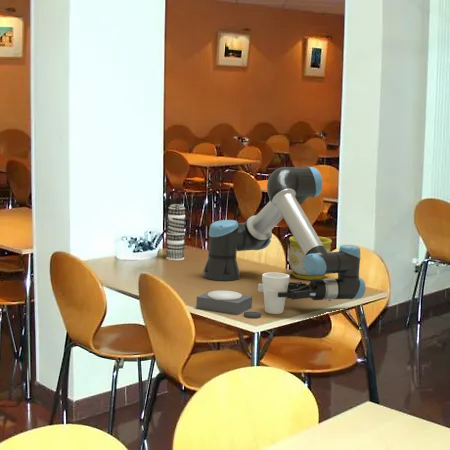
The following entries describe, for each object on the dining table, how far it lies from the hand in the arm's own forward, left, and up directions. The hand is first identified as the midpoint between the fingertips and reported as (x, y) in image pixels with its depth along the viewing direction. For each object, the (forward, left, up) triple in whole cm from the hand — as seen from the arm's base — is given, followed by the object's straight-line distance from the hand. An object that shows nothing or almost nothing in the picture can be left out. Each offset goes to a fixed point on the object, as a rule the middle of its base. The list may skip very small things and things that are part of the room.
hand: (263, 291), depth 286 cm
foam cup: (+3, +3, -8) cm, 9 cm away
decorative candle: (-72, +68, -8) cm, 99 cm away
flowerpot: (-7, +67, -8) cm, 68 cm away
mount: (-14, -2, -7) cm, 16 cm away
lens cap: (-1, -7, -8) cm, 11 cm away
